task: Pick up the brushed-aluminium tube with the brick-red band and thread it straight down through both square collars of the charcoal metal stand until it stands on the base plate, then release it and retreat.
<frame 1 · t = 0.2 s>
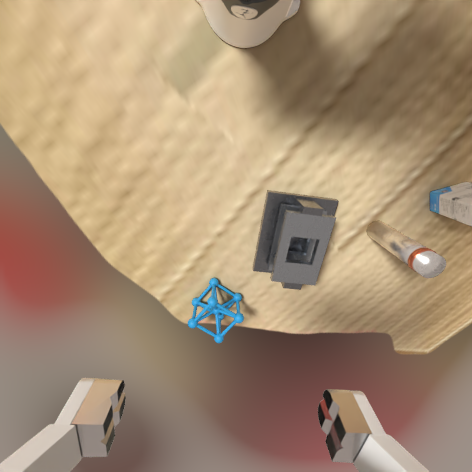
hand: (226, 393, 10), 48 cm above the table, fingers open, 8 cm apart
molecular structure: (217, 296, 66), on the table
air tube: (375, 229, 60), on the table
collar stand: (292, 235, 60), on the table
ink box: (446, 196, 58), on the table
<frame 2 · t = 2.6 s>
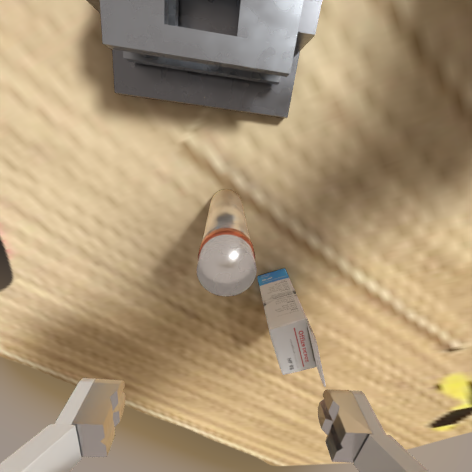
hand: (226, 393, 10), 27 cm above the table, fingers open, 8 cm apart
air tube: (226, 204, 35), on the table
collar stand: (210, 24, 27), on the table
ink box: (276, 291, 42), on the table
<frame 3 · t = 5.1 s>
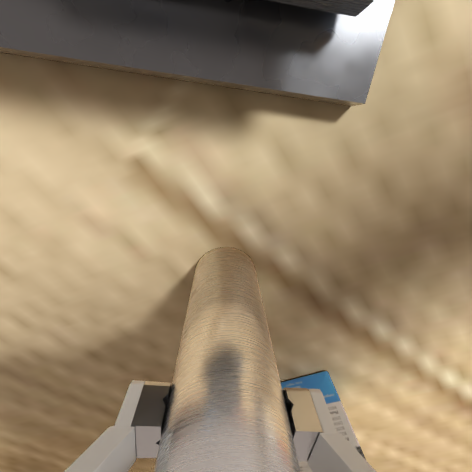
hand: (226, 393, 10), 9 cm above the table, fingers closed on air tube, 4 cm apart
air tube: (225, 274, 18), on the table, touching gripper
ink box: (309, 400, 25), on the table
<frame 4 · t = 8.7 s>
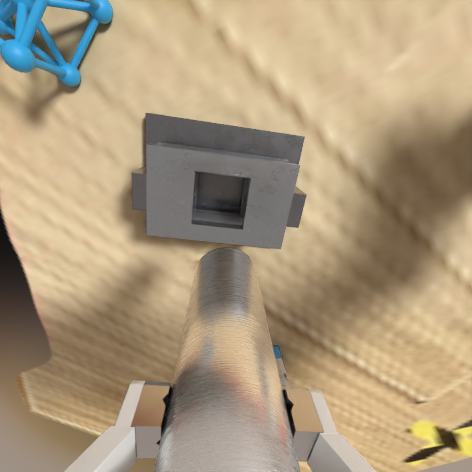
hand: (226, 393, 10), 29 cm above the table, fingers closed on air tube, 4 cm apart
molecular structure: (57, 20, 28), on the table
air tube: (225, 274, 18), point 20 cm above the table, touching gripper
collar stand: (220, 186, 35), on the table
ink box: (270, 361, 50), on the table
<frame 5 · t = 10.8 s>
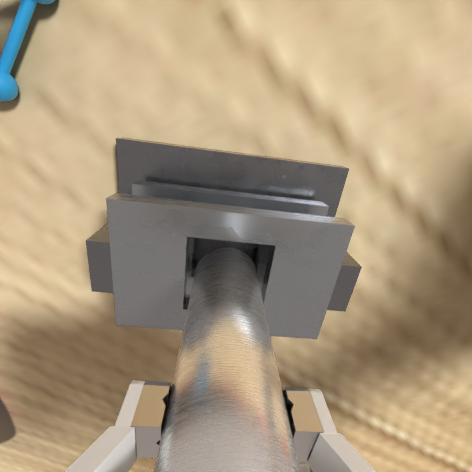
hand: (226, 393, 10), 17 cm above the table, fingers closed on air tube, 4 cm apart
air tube: (225, 274, 18), point 8 cm above the table, touching gripper
collar stand: (226, 233, 26), on the table
when the fingers open (12 cm above the table, at t = 12.3 s): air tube stays where it is, resting on collar stand.
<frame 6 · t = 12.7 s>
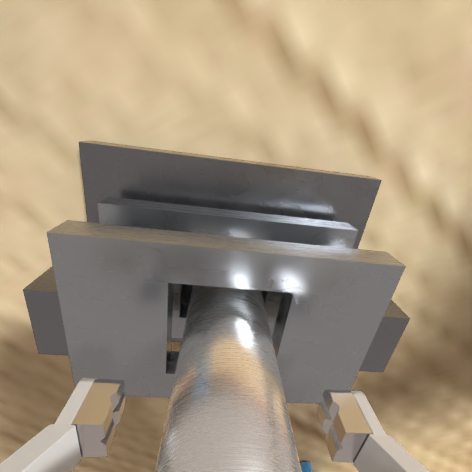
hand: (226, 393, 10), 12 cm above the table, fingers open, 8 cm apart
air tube: (226, 267, 19), point 2 cm above the table, touching collar stand
collar stand: (225, 258, 21), on the table
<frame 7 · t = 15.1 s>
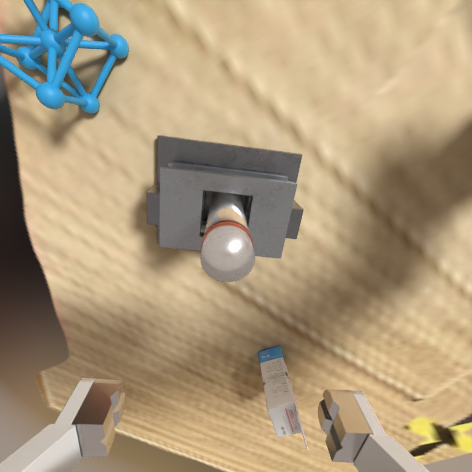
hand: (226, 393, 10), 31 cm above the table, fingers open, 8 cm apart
molecular structure: (79, 55, 31), on the table
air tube: (226, 201, 37), point 2 cm above the table, touching collar stand
collar stand: (225, 199, 39), on the table
ink box: (273, 360, 53), on the table
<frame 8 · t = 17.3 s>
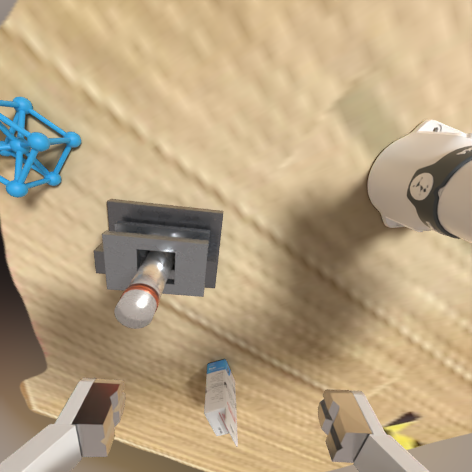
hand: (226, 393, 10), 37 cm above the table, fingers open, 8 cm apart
molecular structure: (44, 143, 40), on the table
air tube: (166, 248, 47), point 2 cm above the table, touching collar stand
collar stand: (167, 245, 48), on the table
ink box: (221, 371, 63), on the table
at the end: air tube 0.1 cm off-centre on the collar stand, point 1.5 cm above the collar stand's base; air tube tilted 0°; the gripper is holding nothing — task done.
